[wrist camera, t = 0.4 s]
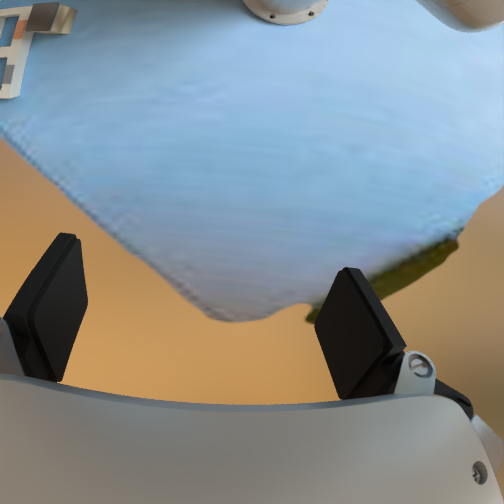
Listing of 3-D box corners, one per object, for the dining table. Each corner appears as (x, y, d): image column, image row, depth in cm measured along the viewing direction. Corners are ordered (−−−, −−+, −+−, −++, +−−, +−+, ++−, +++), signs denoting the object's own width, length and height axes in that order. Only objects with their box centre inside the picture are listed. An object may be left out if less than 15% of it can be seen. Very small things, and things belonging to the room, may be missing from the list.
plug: (56, 10, 25) (33, 3, 19) (77, 10, 26) (56, 2, 20) (48, 34, 27) (24, 31, 21) (69, 34, 28) (47, 30, 22)
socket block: (0, 12, 21) (-11, 11, 18) (42, 8, 24) (32, 5, 21) (-19, 94, 28) (-31, 97, 26) (19, 96, 31) (8, 98, 28)
